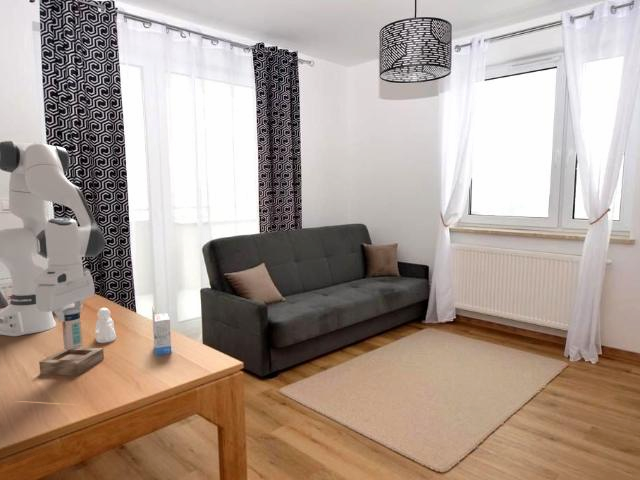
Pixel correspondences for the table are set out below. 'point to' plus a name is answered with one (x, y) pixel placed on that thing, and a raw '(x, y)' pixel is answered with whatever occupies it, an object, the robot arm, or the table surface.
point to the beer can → (72, 329)
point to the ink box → (161, 333)
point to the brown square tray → (71, 361)
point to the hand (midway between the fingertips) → (69, 318)
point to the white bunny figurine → (105, 327)
